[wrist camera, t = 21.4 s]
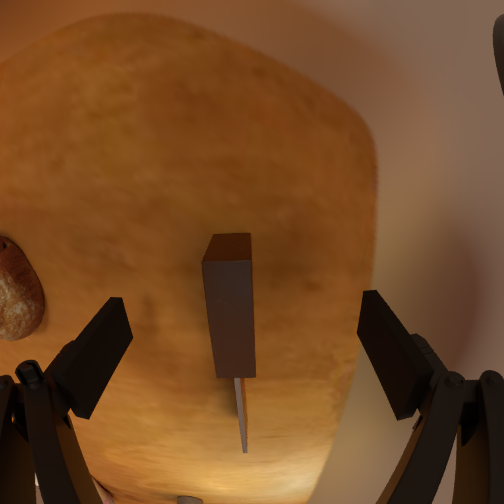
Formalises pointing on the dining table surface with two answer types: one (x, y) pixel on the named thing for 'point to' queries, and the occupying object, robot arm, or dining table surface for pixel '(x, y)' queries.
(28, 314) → the bread roll
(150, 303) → the dining table surface
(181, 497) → the grey cylinder
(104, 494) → the ice cream cone
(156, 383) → the dining table surface
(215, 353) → the knife
